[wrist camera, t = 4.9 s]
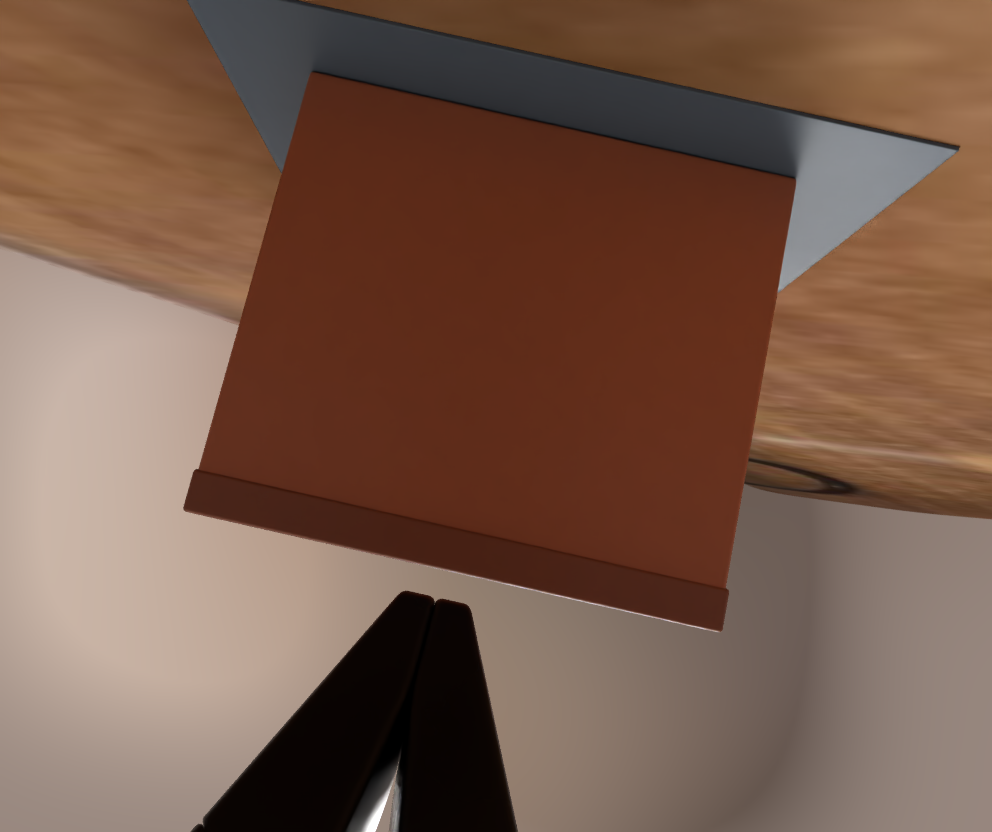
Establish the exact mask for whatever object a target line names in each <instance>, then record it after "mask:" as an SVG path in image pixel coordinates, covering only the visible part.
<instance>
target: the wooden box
mask: <svg viewBox="0 0 992 832" xmlns="http://www.w3.org/2000/svg"><path fill="white" fill-rule="evenodd" d="M795 190H796V179H794V178H790V177H786V176H781V175H777V174H772V173H768V172H763V171H759V170H754V169H750V168H745V167H741V166H736V165H732V164H727V163H722V162H718V161H713V160H709V159H704V158H700V157H695V156H691V155H686V154H682V153H677V152H673V151H668V150H664V149H659V148H655V147H650V146H646V145H641V144H637V143H632V142H628V141H623V140H619V139H614V138H610V137H605V136H601V135H596V134H592V133H587V132H583V131H578V130H574V129H569V128H565V127H560V126H556V125H551V124H547V123H542V122H538V121H533V120H529V119H524V118H520V117H515V116H511V115H506V114H502V113H497V112H493V111H488V110H484V109H479V108H475V107H470V106H466V105H461V104H457V103H452V102H448V101H443V100H439V99H434V98H430V97H425V96H421V95H416V94H412V93H407V92H403V91H398V90H394V89H389V88H385V87H380V86H376V85H371V84H367V83H362V82H358V81H353V80H349V79H344V78H340V77H335V76H331V75H326V74H322V73H317V72H311V73H310V75H309V78H308V82H307V85H306V89H305V93H304V96H303V100H302V103H301V107H300V110H299V114H298V117H297V121H296V125H295V128H294V132H293V135H292V139H291V142H290V146H289V149H288V153H287V157H286V160H285V164H284V167H283V171H282V174H281V178H280V181H279V185H278V189H277V192H276V196H275V199H274V203H273V206H272V210H271V213H270V217H269V221H268V224H267V228H266V231H265V235H264V238H263V242H262V245H261V249H260V253H259V256H258V260H257V263H256V267H255V270H254V274H253V277H252V281H251V285H250V288H249V292H248V295H247V299H246V302H245V306H244V309H243V313H242V317H241V320H240V324H239V327H238V331H237V334H236V338H235V341H234V345H233V349H232V352H231V356H230V359H229V363H228V367H227V370H226V373H225V377H224V381H223V384H222V388H221V391H220V395H219V398H218V402H217V406H216V409H215V413H214V416H213V420H212V423H211V427H210V430H209V434H208V438H207V441H206V445H205V448H204V452H203V455H202V459H201V462H200V466H199V469H196V470H194V472H193V475H192V479H191V482H190V486H189V489H188V493H187V496H186V500H185V504H184V507H183V508H184V511H186V512H190V513H194V514H198V515H203V516H207V517H212V518H216V519H220V520H225V521H229V522H234V523H238V524H242V525H247V526H252V527H256V528H261V529H264V530H269V531H274V532H278V533H282V534H287V535H291V536H296V537H300V538H305V539H309V540H313V541H317V542H322V543H326V544H331V545H335V546H340V547H344V548H349V549H353V550H358V551H362V552H366V553H371V554H375V555H380V556H384V557H388V558H393V559H397V560H402V561H406V562H410V563H415V564H419V565H423V566H428V567H432V568H437V569H441V570H446V571H450V572H455V573H459V574H463V575H468V576H472V577H477V578H481V579H486V580H490V581H495V582H499V583H503V584H507V585H512V586H517V587H521V588H525V589H530V590H534V591H538V592H543V593H547V594H552V595H556V596H560V597H565V598H569V599H574V600H578V601H583V602H587V603H592V604H596V605H600V606H605V607H609V608H613V609H618V610H622V611H627V612H631V613H636V614H640V615H645V616H649V617H653V618H658V619H662V620H666V621H671V622H676V623H680V624H684V625H688V626H693V627H698V628H702V629H706V630H711V631H715V632H721V631H722V630H723V624H724V619H725V613H726V607H727V602H728V596H729V590H727V589H726V583H727V578H728V572H729V566H730V561H731V555H732V549H733V544H734V538H735V532H736V526H737V521H738V515H739V509H740V504H741V498H742V492H743V486H744V481H745V475H746V469H747V464H748V458H749V452H750V447H751V441H752V435H753V429H754V424H755V418H756V412H757V407H758V401H759V395H760V389H761V384H762V378H763V372H764V367H765V361H766V355H767V349H768V344H769V338H770V332H771V327H772V321H773V315H774V310H775V304H776V298H777V292H778V287H779V281H780V275H781V270H782V264H783V258H784V252H785V247H786V241H787V235H788V230H789V224H790V218H791V212H792V207H793V201H794V195H795Z"/></svg>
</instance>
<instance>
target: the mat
mask: <svg viewBox="0 0 992 832" xmlns="http://www.w3.org/2000/svg"><path fill="white" fill-rule="evenodd" d="M187 1H188V3H189V5H190V7H191V8H192V10H193V12H194V14H195V16H196V18H197V19H198V21H199V23H200V25H201V27H202V29H203V30H204V32H205V34H206V36H207V38H208V40H209V41H210V43H211V45H212V47H213V49H214V51H215V52H216V54H217V56H218V58H219V60H220V62H221V63H222V65H223V67H224V69H225V71H226V73H227V74H228V76H229V78H230V80H231V82H232V84H233V85H234V87H235V89H236V91H237V93H238V95H239V96H240V98H241V100H242V102H243V104H244V106H245V107H246V109H247V111H248V113H249V115H250V117H251V119H252V120H253V122H254V124H255V126H256V128H257V130H258V131H259V133H260V135H261V137H262V139H263V141H264V142H265V144H266V146H267V148H268V150H269V152H270V153H271V155H272V157H273V159H274V161H275V163H276V164H277V166H278V168H279V170H280V172H281V174H282V171H283V167H284V164H285V160H286V157H287V153H288V149H289V146H290V142H291V139H292V135H293V132H294V128H295V125H296V121H297V117H298V114H299V110H300V107H301V103H302V100H303V96H304V93H305V89H306V85H307V82H308V78H309V75H310V73H311V72H317V73H322V74H326V75H331V76H335V77H340V78H344V79H349V80H353V81H358V82H362V83H367V84H371V85H376V86H380V87H385V88H389V89H394V90H398V91H403V92H407V93H412V94H416V95H421V96H425V97H430V98H434V99H439V100H443V101H448V102H452V103H457V104H461V105H466V106H470V107H475V108H479V109H484V110H488V111H493V112H497V113H502V114H506V115H511V116H515V117H520V118H524V119H529V120H533V121H538V122H542V123H547V124H551V125H556V126H560V127H565V128H569V129H574V130H578V131H583V132H587V133H592V134H596V135H601V136H605V137H610V138H614V139H619V140H623V141H628V142H632V143H637V144H641V145H646V146H650V147H655V148H659V149H664V150H668V151H673V152H677V153H682V154H686V155H691V156H695V157H700V158H704V159H709V160H713V161H718V162H722V163H727V164H732V165H736V166H741V167H745V168H750V169H754V170H759V171H763V172H768V173H772V174H777V175H781V176H786V177H790V178H794V179H796V190H795V195H794V201H793V207H792V212H791V218H790V224H789V230H788V235H787V241H786V247H785V252H784V258H783V264H782V270H781V275H780V281H779V287H778V292H780V291H781V290H782V289H783V288H785V287H786V286H787V285H788V284H790V283H791V282H792V281H794V280H795V279H796V278H797V277H799V276H800V275H801V274H802V273H804V272H805V271H806V270H808V269H809V268H810V267H811V266H813V265H814V264H815V263H816V262H818V261H819V260H820V259H822V258H823V257H824V256H825V255H827V254H828V253H829V252H830V251H832V250H833V249H834V248H836V247H837V246H838V245H839V244H841V243H842V242H843V241H844V240H846V239H847V238H848V237H850V236H851V235H852V234H853V233H855V232H856V231H857V230H858V229H860V228H861V227H862V226H864V225H865V224H866V223H867V222H869V221H870V220H871V219H872V218H874V217H875V216H876V215H878V214H879V213H880V212H881V211H883V210H884V209H885V208H886V207H888V206H889V205H890V204H892V203H893V202H894V201H895V200H897V199H898V198H899V197H900V196H902V195H903V194H904V193H905V192H907V191H908V190H909V189H911V188H912V187H913V186H914V185H916V184H917V183H918V182H919V181H921V180H922V179H923V178H925V177H926V176H927V175H928V174H930V173H931V172H932V171H933V170H935V169H936V168H937V167H939V166H940V165H941V164H942V163H944V162H945V161H946V160H947V159H949V158H950V157H951V156H953V155H954V154H955V153H956V152H958V151H959V147H957V146H953V145H948V144H944V143H939V142H935V141H930V140H926V139H921V138H917V137H912V136H908V135H903V134H898V133H894V132H889V131H885V130H880V129H876V128H871V127H867V126H862V125H858V124H853V123H849V122H844V121H840V120H835V119H831V118H826V117H822V116H817V115H813V114H808V113H804V112H799V111H795V110H790V109H786V108H781V107H777V106H772V105H768V104H763V103H758V102H754V101H749V100H745V99H740V98H736V97H731V96H727V95H722V94H718V93H713V92H709V91H704V90H700V89H695V88H691V87H686V86H682V85H677V84H673V83H668V82H664V81H659V80H655V79H650V78H646V77H641V76H637V75H632V74H628V73H623V72H619V71H614V70H609V69H605V68H600V67H596V66H591V65H587V64H582V63H578V62H573V61H569V60H564V59H560V58H555V57H551V56H546V55H542V54H537V53H533V52H528V51H524V50H519V49H515V48H510V47H506V46H501V45H497V44H492V43H488V42H483V41H479V40H474V39H470V38H465V37H460V36H456V35H451V34H447V33H442V32H438V31H433V30H429V29H424V28H420V27H415V26H411V25H406V24H402V23H397V22H393V21H388V20H384V19H379V18H375V17H370V16H366V15H361V14H357V13H352V12H348V11H343V10H339V9H334V8H330V7H325V6H320V5H316V4H311V3H307V2H302V1H298V0H187ZM778 292H777V293H778Z"/></svg>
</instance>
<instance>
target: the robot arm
mask: <svg viewBox="0 0 992 832" xmlns="http://www.w3.org/2000/svg"><path fill="white" fill-rule="evenodd" d="M434 604H435V605H434ZM398 762H399V764H398ZM397 766H398V770H397ZM396 770H397V775H396V781H395V788H394V794H393V803H392V811H391V818H390V828H389V832H518V830H517V825H516V820H515V816H514V811H513V807H512V801H511V797H510V792H509V787H508V783H507V778H506V773H505V768H504V764H503V759H502V754H501V750H500V745H499V740H498V735H497V731H496V727H495V722H494V716H493V712H492V707H491V703H490V698H489V694H488V688H487V683H486V679H485V674H484V669H483V664H482V660H481V655H480V650H479V646H478V641H477V636H476V631H475V627H474V622H473V617H472V613H471V610H470V608H469V606H468V605H466V604H464V603H459V602H455V601H450V600H446V599H439V600H437V601H436V602H435V601H434V599H433V598H432V597H431V596H428V595H424V594H419V593H415V592H410V591H403V592H401V593H400V594H399V595H398V596H397V597H396V598H395V599H394V600H393V601H392V602H391V604H389V606H388V607H387V608H386V609H385V610H384V611H383V612H382V614H381V615H380V616H379V617H378V618H377V619H376V620H375V622H374V623H373V624H372V625H371V626H370V627H369V629H368V630H367V631H366V632H365V633H364V634H363V636H362V637H361V638H360V639H359V640H358V641H357V642H356V644H355V645H354V646H353V647H352V648H351V649H350V650H349V651H348V653H347V654H346V655H345V656H344V657H343V658H342V660H341V661H340V662H339V663H338V664H337V665H336V666H335V667H334V669H333V670H332V671H331V672H330V673H329V674H328V675H327V677H326V678H325V679H324V680H323V681H322V682H321V683H320V685H319V686H318V687H317V688H316V689H315V690H314V692H313V693H312V694H311V695H310V696H309V697H308V698H307V700H306V701H305V702H304V703H303V704H302V705H301V707H300V708H299V709H298V710H297V711H296V712H295V713H294V714H293V716H292V717H291V718H290V719H289V720H288V721H287V722H286V724H285V725H284V726H283V727H282V728H281V729H280V730H279V732H278V733H277V734H276V735H275V736H274V737H273V738H272V740H271V741H270V742H269V743H268V744H267V745H266V747H265V748H264V749H263V750H262V751H261V752H260V753H259V754H258V756H257V757H256V758H255V759H254V760H253V761H252V763H251V764H250V765H249V766H248V767H247V768H246V769H245V771H244V772H243V773H242V774H241V775H240V776H239V777H238V779H237V780H236V781H235V782H234V783H233V784H232V785H231V787H230V788H229V789H228V790H227V791H226V792H225V793H224V795H223V796H222V797H221V798H220V799H219V800H218V801H217V803H216V804H215V805H214V806H213V807H212V808H211V809H210V811H209V812H208V813H207V814H206V815H205V816H204V818H203V825H202V824H198V825H196V826H195V827H194V828H193V830H192V831H191V832H375V831H376V828H377V825H378V822H379V819H380V817H381V814H382V811H383V809H384V806H385V803H386V801H387V798H388V795H389V792H390V789H391V786H392V783H393V780H394V777H395V773H396Z"/></svg>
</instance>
